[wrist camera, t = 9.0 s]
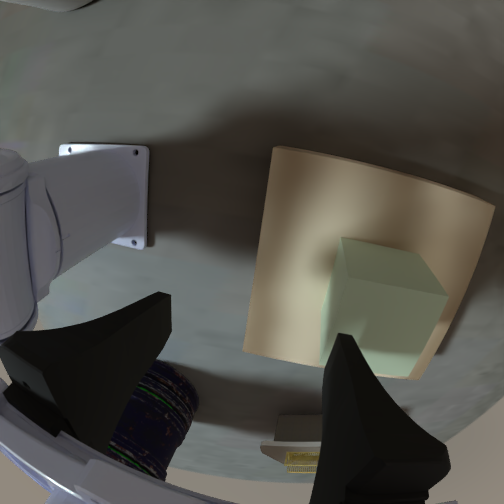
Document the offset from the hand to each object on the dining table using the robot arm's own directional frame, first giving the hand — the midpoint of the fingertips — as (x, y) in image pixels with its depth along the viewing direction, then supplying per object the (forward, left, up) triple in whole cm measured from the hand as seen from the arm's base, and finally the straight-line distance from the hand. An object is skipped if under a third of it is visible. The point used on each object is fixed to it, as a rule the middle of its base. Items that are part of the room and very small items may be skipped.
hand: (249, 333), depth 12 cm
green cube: (+6, 0, -6) cm, 9 cm away
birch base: (+6, 0, -9) cm, 11 cm away
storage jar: (-10, -19, -10) cm, 24 cm away
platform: (+7, -18, -10) cm, 22 cm away
